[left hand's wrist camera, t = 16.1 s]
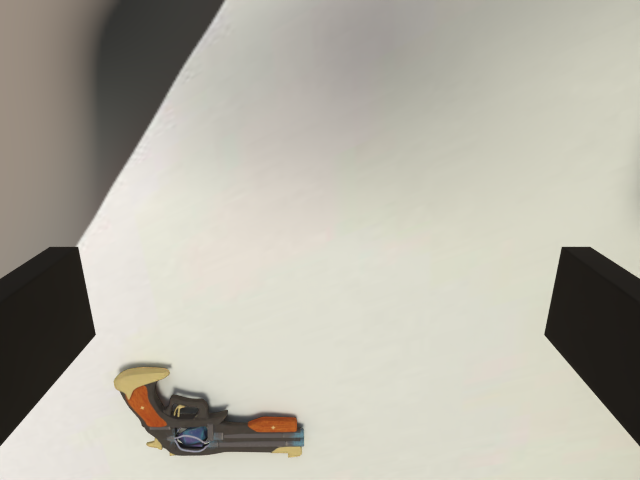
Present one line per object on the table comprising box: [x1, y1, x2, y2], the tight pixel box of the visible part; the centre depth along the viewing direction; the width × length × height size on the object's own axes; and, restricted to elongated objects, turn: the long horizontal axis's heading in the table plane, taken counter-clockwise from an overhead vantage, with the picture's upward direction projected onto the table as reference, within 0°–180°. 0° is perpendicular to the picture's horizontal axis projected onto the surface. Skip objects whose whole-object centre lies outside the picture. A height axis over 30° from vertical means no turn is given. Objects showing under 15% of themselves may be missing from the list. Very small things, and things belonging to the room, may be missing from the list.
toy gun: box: [114, 367, 304, 458], centre depth 46 cm, size 3×19×10 cm
